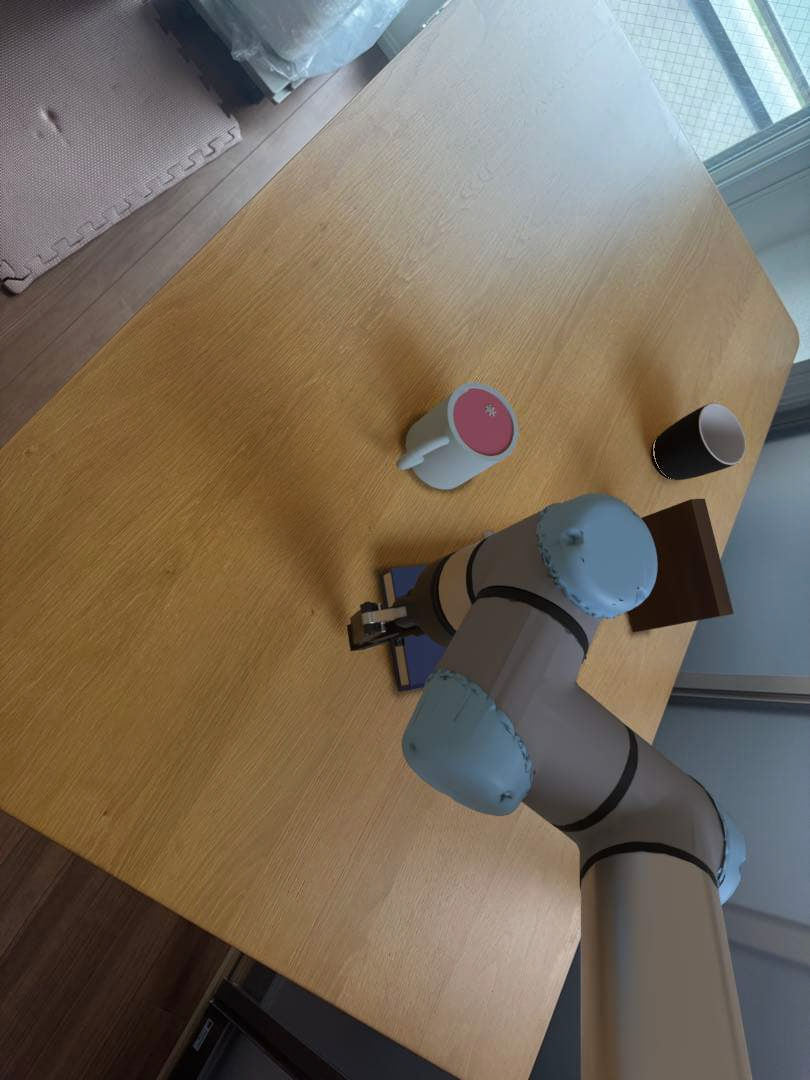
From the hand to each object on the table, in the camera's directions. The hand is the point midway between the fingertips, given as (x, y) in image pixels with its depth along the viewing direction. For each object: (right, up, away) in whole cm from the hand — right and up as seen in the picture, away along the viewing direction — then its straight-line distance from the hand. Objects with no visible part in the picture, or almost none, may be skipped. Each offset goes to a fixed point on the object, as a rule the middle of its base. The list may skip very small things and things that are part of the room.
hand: (355, 637), depth 76 cm
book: (+14, +1, +10) cm, 17 cm away
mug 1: (+7, +20, +12) cm, 24 cm away
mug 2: (+44, +23, +32) cm, 59 cm away
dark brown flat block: (+35, +5, +22) cm, 41 cm away
